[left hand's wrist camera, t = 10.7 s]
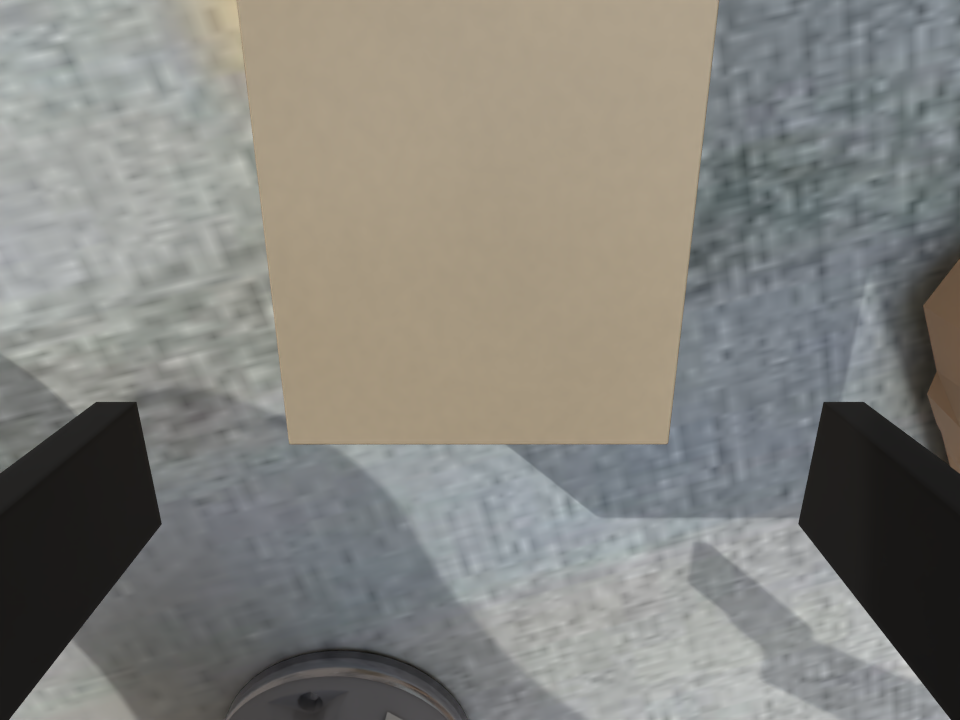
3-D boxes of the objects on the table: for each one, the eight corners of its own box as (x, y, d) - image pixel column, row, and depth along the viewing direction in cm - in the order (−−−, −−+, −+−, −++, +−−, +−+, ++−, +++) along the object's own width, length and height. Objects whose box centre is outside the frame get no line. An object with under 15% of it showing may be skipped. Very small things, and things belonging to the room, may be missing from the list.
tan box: (325, -112, 24) (200, -296, 13) (632, -112, 24) (754, -297, 13) (356, 328, 30) (288, 445, 19) (601, 328, 30) (668, 445, 19)
